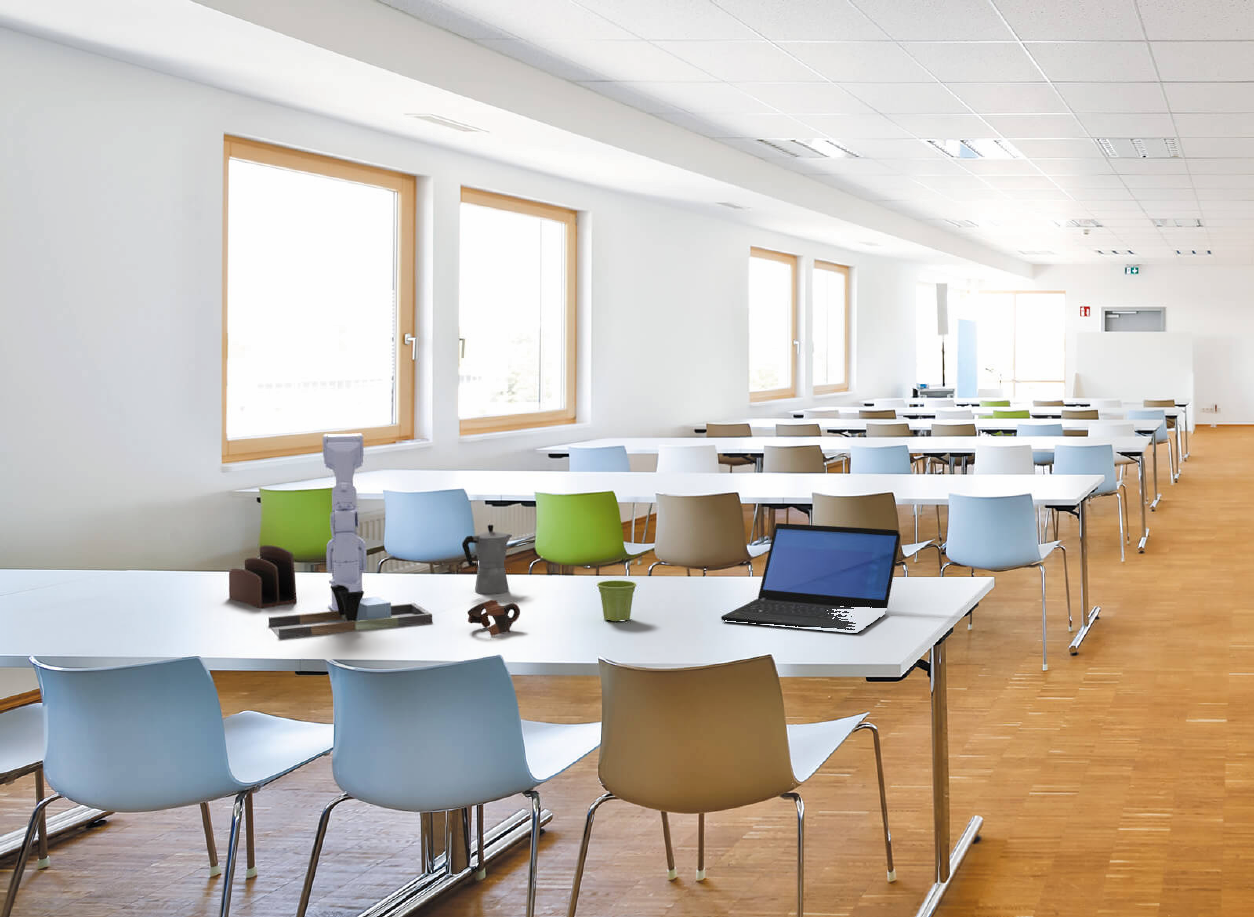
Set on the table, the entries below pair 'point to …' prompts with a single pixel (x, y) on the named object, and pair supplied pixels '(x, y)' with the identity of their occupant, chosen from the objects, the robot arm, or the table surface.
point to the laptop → (822, 575)
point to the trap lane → (399, 617)
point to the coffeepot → (489, 560)
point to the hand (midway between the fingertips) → (347, 617)
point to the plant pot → (616, 599)
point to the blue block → (373, 609)
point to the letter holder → (265, 579)
